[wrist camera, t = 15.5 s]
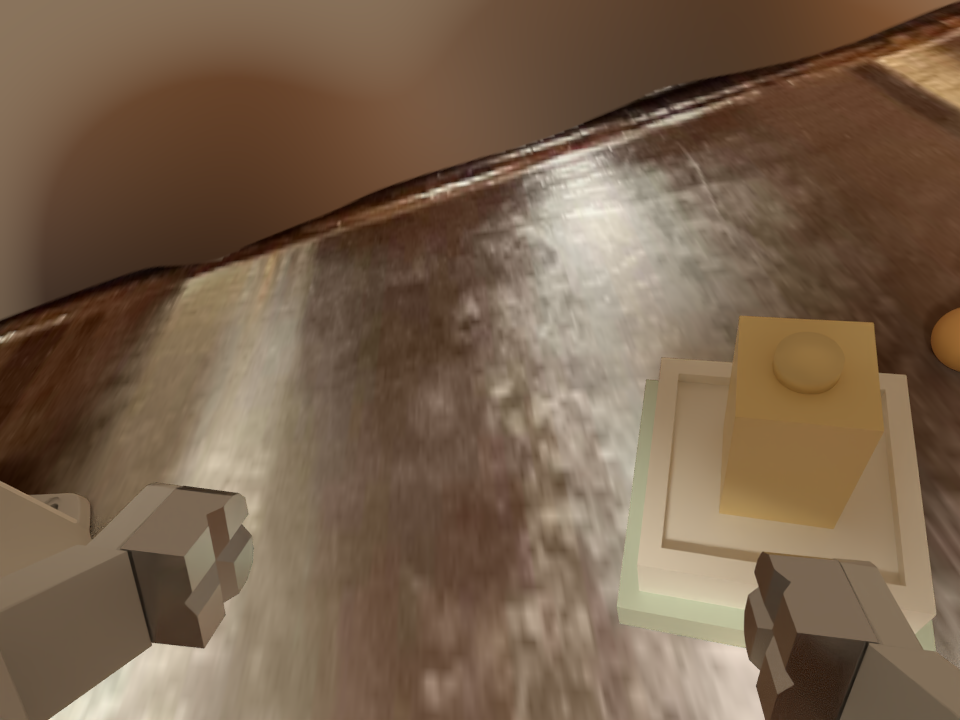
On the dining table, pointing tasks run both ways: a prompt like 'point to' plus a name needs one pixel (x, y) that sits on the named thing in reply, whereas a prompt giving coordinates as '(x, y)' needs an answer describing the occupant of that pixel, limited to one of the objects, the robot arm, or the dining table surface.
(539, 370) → the dining table surface
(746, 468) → the tall brick
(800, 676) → the robot arm
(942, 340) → the figurine
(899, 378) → the cream tray on base
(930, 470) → the dining table surface
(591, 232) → the dining table surface
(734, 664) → the dining table surface
